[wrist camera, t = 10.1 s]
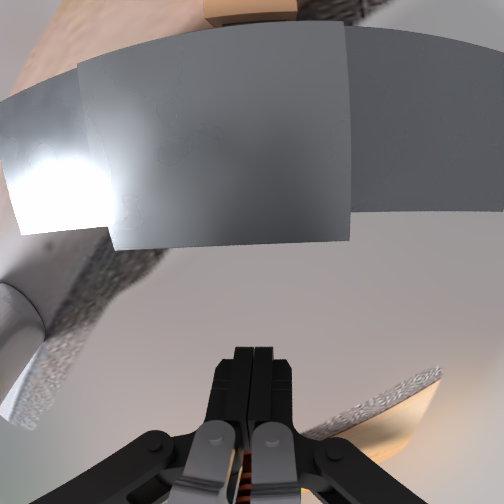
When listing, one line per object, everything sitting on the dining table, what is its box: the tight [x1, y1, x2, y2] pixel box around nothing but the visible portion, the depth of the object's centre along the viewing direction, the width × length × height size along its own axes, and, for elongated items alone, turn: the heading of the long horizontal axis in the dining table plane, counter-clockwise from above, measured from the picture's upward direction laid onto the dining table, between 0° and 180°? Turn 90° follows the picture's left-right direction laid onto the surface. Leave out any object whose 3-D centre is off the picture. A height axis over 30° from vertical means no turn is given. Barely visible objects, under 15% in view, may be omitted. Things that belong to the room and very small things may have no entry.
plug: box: [203, 0, 298, 28], centre depth 16 cm, size 17×4×5 cm, turn 4°
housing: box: [0, 21, 504, 251], centre depth 13 cm, size 6×20×14 cm, turn 95°
